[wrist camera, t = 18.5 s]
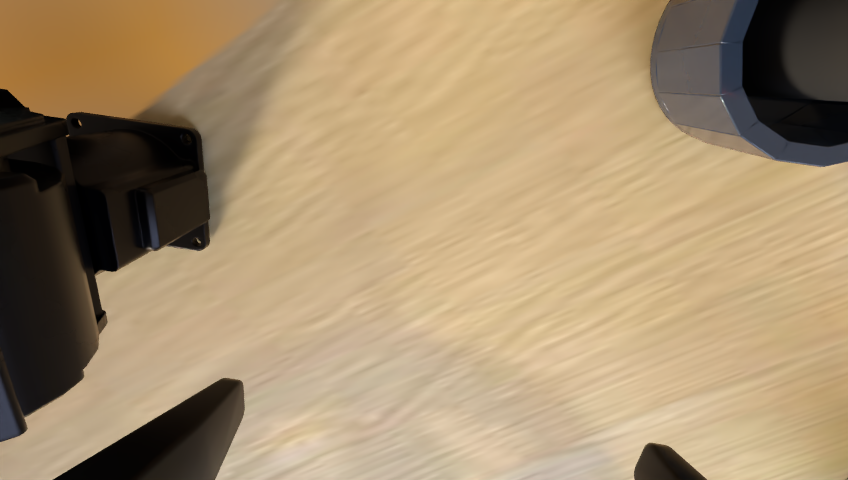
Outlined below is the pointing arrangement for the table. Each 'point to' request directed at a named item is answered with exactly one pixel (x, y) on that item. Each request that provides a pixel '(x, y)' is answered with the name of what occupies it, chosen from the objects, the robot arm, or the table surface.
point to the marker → (797, 50)
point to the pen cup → (735, 89)
